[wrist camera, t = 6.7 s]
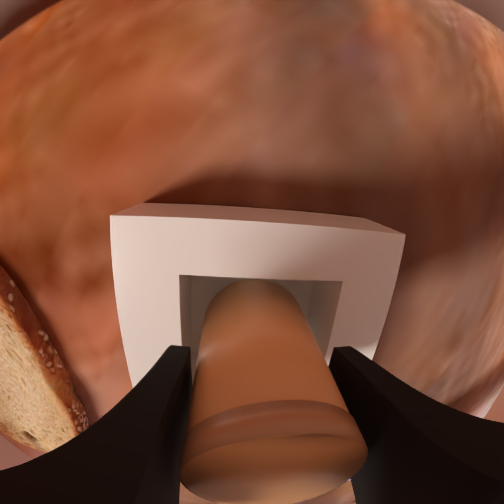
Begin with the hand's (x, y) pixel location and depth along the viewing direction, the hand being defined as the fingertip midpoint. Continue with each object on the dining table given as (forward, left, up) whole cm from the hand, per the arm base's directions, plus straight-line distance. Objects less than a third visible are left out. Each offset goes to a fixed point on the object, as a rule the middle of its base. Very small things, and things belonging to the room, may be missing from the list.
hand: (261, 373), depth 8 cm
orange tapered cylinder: (0, 0, -3) cm, 3 cm away
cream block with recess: (0, +2, -5) cm, 6 cm away
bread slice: (+18, +9, -6) cm, 21 cm away
